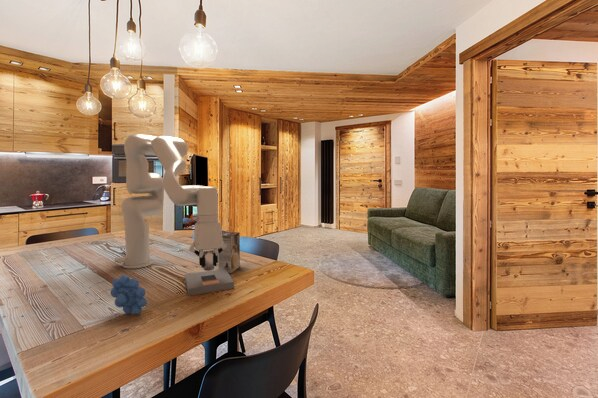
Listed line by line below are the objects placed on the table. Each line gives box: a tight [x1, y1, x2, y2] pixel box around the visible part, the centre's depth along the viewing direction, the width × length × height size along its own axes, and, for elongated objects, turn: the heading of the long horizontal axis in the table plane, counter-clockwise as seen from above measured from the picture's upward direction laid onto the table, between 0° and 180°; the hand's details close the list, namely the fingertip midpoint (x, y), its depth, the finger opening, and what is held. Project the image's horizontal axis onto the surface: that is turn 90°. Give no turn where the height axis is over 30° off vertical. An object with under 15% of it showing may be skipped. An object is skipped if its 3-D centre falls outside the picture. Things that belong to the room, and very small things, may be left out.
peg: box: [202, 249, 215, 271], centre depth 111 cm, size 4×4×7 cm
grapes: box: [110, 274, 148, 315], centre depth 86 cm, size 12×7×12 cm, turn 81°
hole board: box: [184, 269, 235, 296], centre depth 112 cm, size 16×16×3 cm
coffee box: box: [217, 231, 241, 274], centre depth 128 cm, size 9×6×16 cm
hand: (208, 265), depth 111 cm, fingers closed on peg, 4 cm apart
